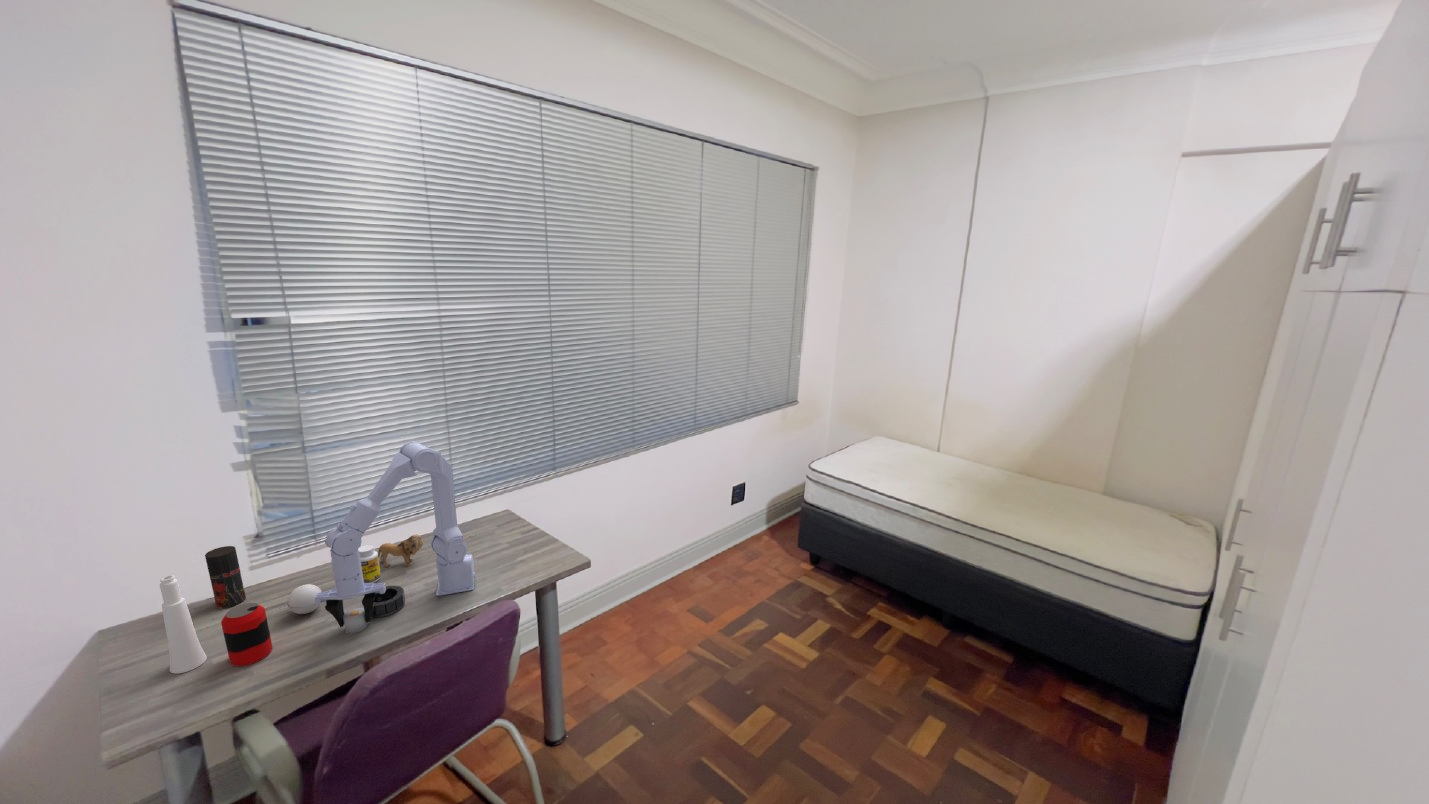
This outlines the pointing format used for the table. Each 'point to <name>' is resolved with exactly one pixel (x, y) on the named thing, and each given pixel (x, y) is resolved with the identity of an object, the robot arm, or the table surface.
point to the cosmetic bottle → (179, 629)
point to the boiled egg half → (355, 620)
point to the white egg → (303, 599)
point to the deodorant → (225, 577)
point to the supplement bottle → (369, 564)
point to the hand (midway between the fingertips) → (355, 622)
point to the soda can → (246, 634)
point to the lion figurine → (401, 549)
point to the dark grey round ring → (388, 602)
